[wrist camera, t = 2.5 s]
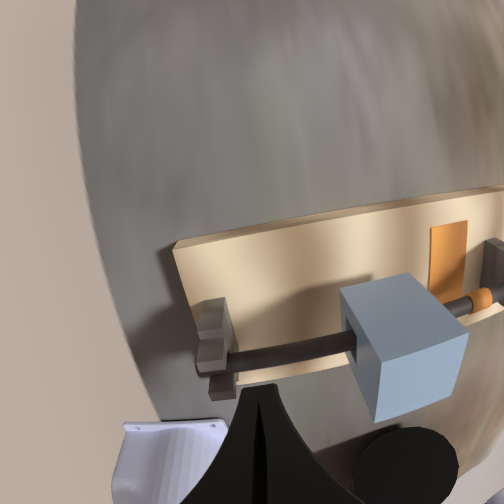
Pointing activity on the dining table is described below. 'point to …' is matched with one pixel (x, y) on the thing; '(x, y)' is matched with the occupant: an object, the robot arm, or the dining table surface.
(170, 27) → the dining table surface
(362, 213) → the cord board
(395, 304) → the light blue block
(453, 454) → the black cylinder
